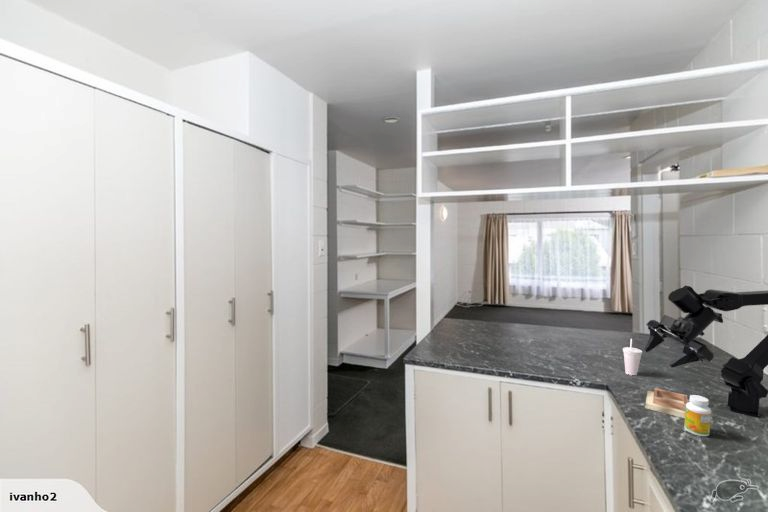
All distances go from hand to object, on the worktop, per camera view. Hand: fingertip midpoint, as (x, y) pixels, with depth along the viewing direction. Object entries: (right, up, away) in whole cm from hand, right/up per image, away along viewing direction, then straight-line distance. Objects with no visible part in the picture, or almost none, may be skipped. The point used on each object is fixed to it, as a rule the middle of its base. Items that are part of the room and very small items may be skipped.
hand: (657, 358), depth 113 cm
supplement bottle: (+1, -17, -12) cm, 21 cm away
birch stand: (+5, -16, +2) cm, 17 cm away
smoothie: (+11, -14, +28) cm, 33 cm away
